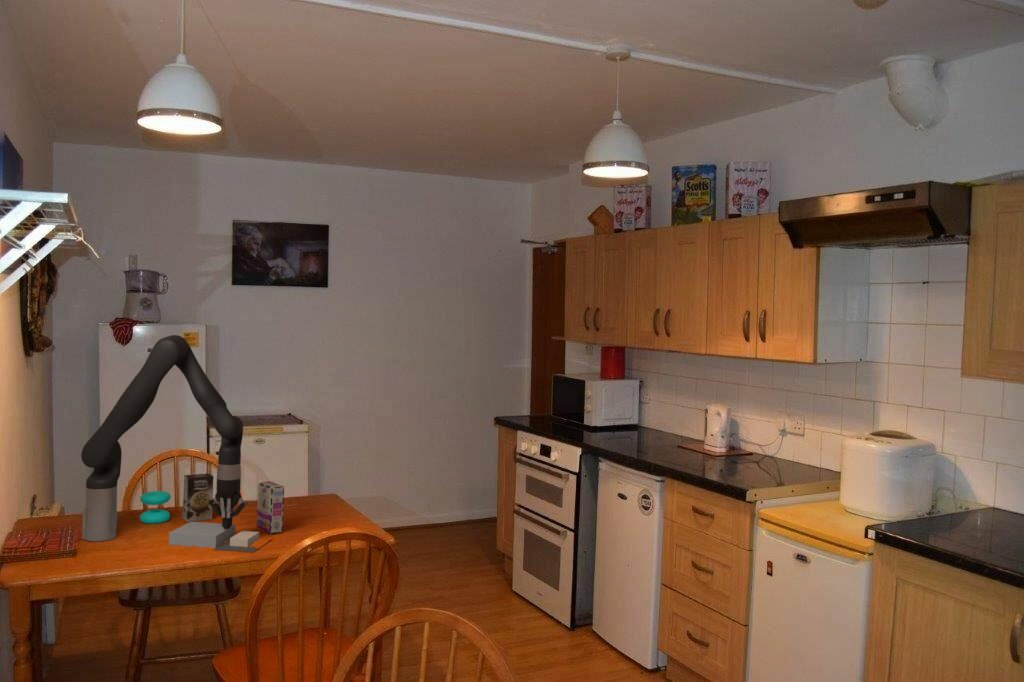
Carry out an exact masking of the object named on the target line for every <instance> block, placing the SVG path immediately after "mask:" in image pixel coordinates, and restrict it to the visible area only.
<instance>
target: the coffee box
mask: <svg viewBox="0 0 1024 682" xmlns="http://www.w3.org/2000/svg"><path fill="white" fill-rule="evenodd" d="M182 497H183V500H182V519H183V520H184V521H185V522H187V523H189V522H200V521H207V520H209V519H210V520H212V519H213V508H212V507H211V505H210V504H209V500H211V499H213V498H214V475H213V474H210V473H199V474H195V473H194V474H186V475H183V496H182Z"/></svg>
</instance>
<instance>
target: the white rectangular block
mask: <svg viewBox="0 0 1024 682" xmlns="http://www.w3.org/2000/svg"><path fill="white" fill-rule="evenodd" d="M259 537H260V531H250V530H241V531H240V532H238V533H235V535H234V536H233V537H231V538H230V546H242V547H248V546H249V545H251V544H253V543H254V542H255V541H257V540H258V539H259Z"/></svg>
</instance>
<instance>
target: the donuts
mask: <svg viewBox="0 0 1024 682" xmlns="http://www.w3.org/2000/svg"><path fill="white" fill-rule="evenodd" d="M171 497H172V496H171V494H170V492H167V491H161V490H155V491H154V490H153V491H147V492H143V494H141V495H140V498H139V499H140V502H141V503H142V504H145V505H148V506H159V505H163V504H166V503H168V502H169V501H170V500H171ZM170 518H171V514H170V512H169V511H167V510H165V509H160V508H159V509H158V508H156V509H149V510H145V511H144V512H142V513H141V514H140V515H139V520H140V521H141V522H142V523H144V524H161V523H165V522H168V521H169V520H170Z"/></svg>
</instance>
